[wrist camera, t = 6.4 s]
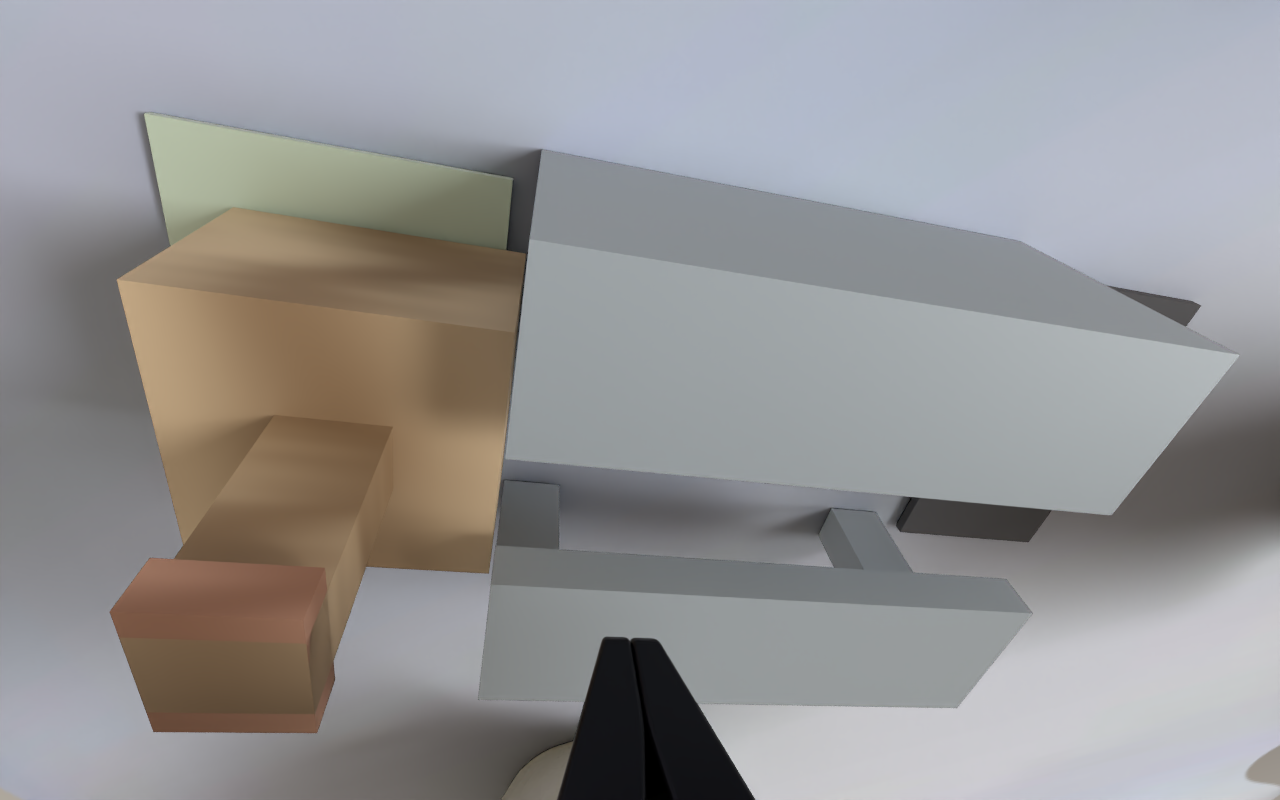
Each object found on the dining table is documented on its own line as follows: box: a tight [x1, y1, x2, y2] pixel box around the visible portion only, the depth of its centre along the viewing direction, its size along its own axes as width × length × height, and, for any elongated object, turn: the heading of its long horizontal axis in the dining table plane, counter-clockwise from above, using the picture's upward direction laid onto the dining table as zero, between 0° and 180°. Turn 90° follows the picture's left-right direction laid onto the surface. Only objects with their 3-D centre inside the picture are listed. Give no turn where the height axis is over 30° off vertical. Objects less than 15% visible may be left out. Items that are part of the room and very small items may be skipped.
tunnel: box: [478, 149, 1240, 708], centre depth 14 cm, size 12×10×6 cm
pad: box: [144, 112, 513, 250], centre depth 15 cm, size 7×9×1 cm
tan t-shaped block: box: [110, 207, 526, 733], centre depth 11 cm, size 6×6×9 cm
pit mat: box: [896, 286, 1201, 542], centre depth 19 cm, size 5×9×1 cm, turn 168°
